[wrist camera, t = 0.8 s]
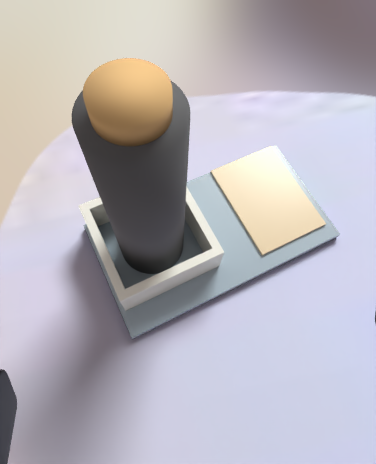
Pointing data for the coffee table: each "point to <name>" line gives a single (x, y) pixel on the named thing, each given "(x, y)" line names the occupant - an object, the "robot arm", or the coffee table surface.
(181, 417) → the coffee table surface
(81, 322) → the coffee table surface
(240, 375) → the coffee table surface
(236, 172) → the board
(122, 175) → the grey and orange cylinder
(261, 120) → the coffee table surface
